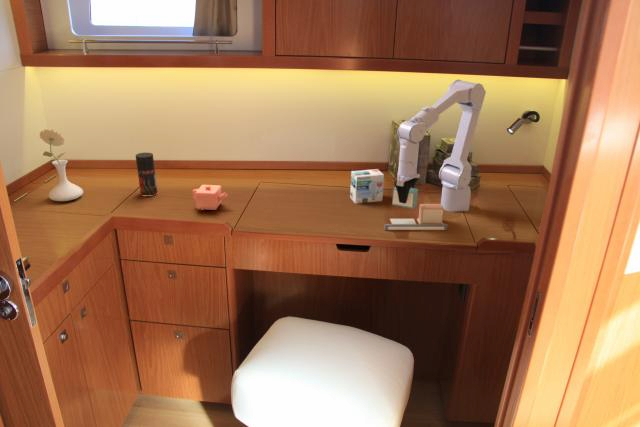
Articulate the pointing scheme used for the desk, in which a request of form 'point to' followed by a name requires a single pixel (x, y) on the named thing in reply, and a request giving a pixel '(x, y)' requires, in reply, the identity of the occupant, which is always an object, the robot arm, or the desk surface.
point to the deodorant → (146, 173)
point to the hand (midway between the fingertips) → (404, 200)
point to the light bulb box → (366, 186)
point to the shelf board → (413, 225)
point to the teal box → (410, 200)
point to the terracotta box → (431, 213)
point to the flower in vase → (60, 170)
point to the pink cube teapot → (208, 197)
